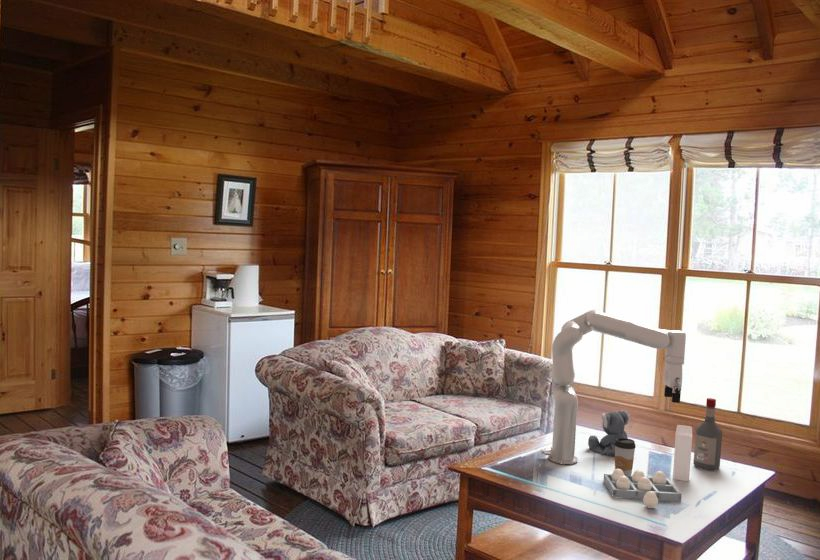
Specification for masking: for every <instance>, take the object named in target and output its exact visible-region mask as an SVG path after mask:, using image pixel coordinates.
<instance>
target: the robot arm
mask: <svg viewBox="0 0 820 560" xmlns="http://www.w3.org/2000/svg"><path fill="white" fill-rule="evenodd" d="M560 330H561V331H559V333H557V335H556V336H555V338H554V340H553V342H552V347H551V351H552V353H551V354H552V367H551V370H550V371H551V384H552V392H553V397H554V411H553V413H554V414H553V429H552V430H553V431H552V444H551V445H552V446H551V447H550V448H548V449H545V448H543V449H542V448H541V450H540V453H541V454H542V455H544V456H547V459H548V458H549V459H550V460H552V461H554V462H557V463H556V464H558V463H562V464H561V465H565V464H570V465H574V463H575V464H577V463H578V462H577V461H579V459H578V457H576V456H575V451H576V436H577V435H576V433H577V417H578V416H577V415H578V408H579V399H578V395H577V394H576V391H575V377H576V376H575V374H576V373H575V370H574V362H573V361H574V360H573V359H574V358H573V349H574V346H576V344H578V343H580V342H581V340H582V338H583V336H584V335H587V334H588V333H590V332H592V331H594V332H596V333H600V334H604V335H608V336H612V337H614V338H615V337H616V338H618V339H620V340H621V339H622V340H624V341H627V342H628V341H629V342H631V343H636V344H639V345H642V346H646V347H649V348H652V349H657V350H664V349H665V355H664V356H665V358H664V359H665V360H664V363H665V365H664V370H663V380H662V383H663V384H664V393H663V394H664V395H663V396H664V397H665V398H671V403H677V404H680V403H681V396H682V395H681V394H682V384H683V365H685V357H686V356H685V353H686V350H685V349H686V340H687V339H686V338H687V334H686V332H685V331H683V330H677V329H673V330H669V329H661V328H650V327H647V326H644V325H640V324H638V323H636V322H634V321H631V320H630V319H626V318H624V317H620V316H619V317H618V316H616V315H612V314H608V313H606V312H602V311H600V310H598V309H592V310H589V311H587V312H584V313H582V314H581V315H578V316H576V317H574V318H571V319H570V320H568V321H566V322H565V323H563V325H562V326H561V329H560ZM549 459H548V460H549ZM550 460H549V461H550ZM552 461H551V462H552ZM554 462H553V463H554ZM576 462H577V463H576Z"/></svg>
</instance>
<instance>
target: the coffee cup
mask: <svg viewBox="0 0 820 560" xmlns="http://www.w3.org/2000/svg"><path fill="white" fill-rule="evenodd" d="M614 445H615V456H614V470H615V469H621V470H622V471H623V473H624V475H628V476H632V472H633V467H634V466H633V465H634V461H635V460H634V459H635V458H634V456H635V452H636V442H635V440H633V439H632V438H617V439H616V441H615V444H614Z"/></svg>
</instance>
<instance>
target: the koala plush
mask: <svg viewBox="0 0 820 560" xmlns="http://www.w3.org/2000/svg"><path fill="white" fill-rule="evenodd" d="M601 419H602V429H603V431H604V432H605V433H606V434H605V436H603V437H602V438H601V439H600V440H599V437H598V436H597V435H590V436H589V437H588V441H587V444H588V447H589V449H590V451H593V450H594V451H593V452H595V451H596V452H595V453H598V452H599V453H598V454H600V453H601V454H600V455H602V454H603V455H604V456H606V455H607V456H609V457H613V456H614V457H615V445H614V444H615V441H616V439H617V438H628V435H627V434H628V433H627V432H626V431H625V427H626V425H628V424H629V422H630V419H631V416H630V414H629V413H628V411H627V410H625V409H621V410H619V411H618V412H616V411H611V412H610V411H609V412H608V413H605V412H604V413H602V414H601ZM628 439H629V438H628ZM603 455H602V456H603Z"/></svg>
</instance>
